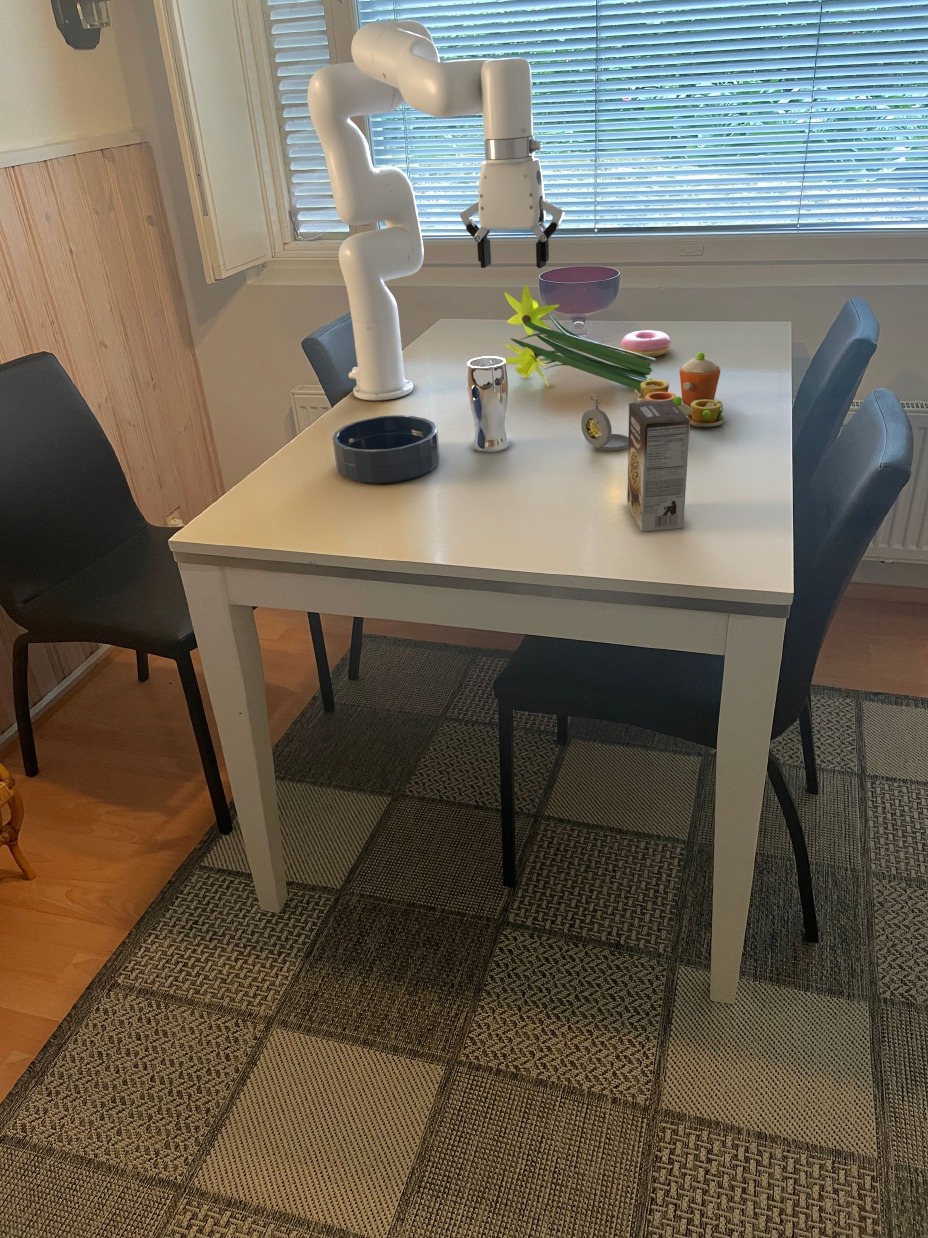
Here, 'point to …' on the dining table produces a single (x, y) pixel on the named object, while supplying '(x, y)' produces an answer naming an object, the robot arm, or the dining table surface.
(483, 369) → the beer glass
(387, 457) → the bowl
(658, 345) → the doughnut
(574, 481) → the dining table surface
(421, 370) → the dining table surface
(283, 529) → the dining table surface
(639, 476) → the coffee box
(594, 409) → the pocket watch
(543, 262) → the robot arm
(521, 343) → the daffodil flowers
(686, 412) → the toy tea set
